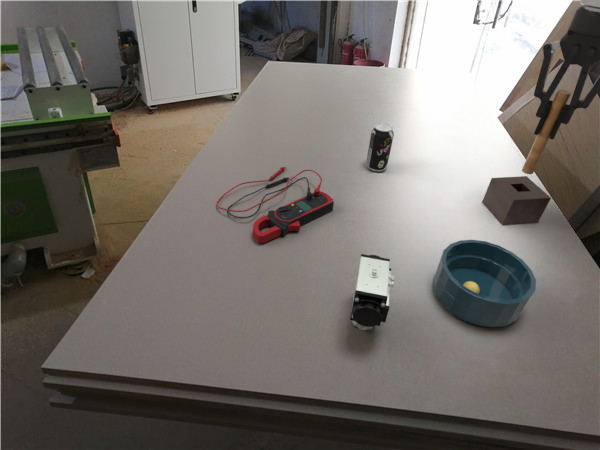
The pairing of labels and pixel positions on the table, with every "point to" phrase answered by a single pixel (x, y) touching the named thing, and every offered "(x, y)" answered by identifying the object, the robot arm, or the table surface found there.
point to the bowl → (483, 283)
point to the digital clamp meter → (287, 210)
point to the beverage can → (379, 147)
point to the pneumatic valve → (371, 292)
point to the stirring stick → (546, 131)
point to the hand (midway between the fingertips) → (544, 134)
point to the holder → (515, 200)
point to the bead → (472, 286)
